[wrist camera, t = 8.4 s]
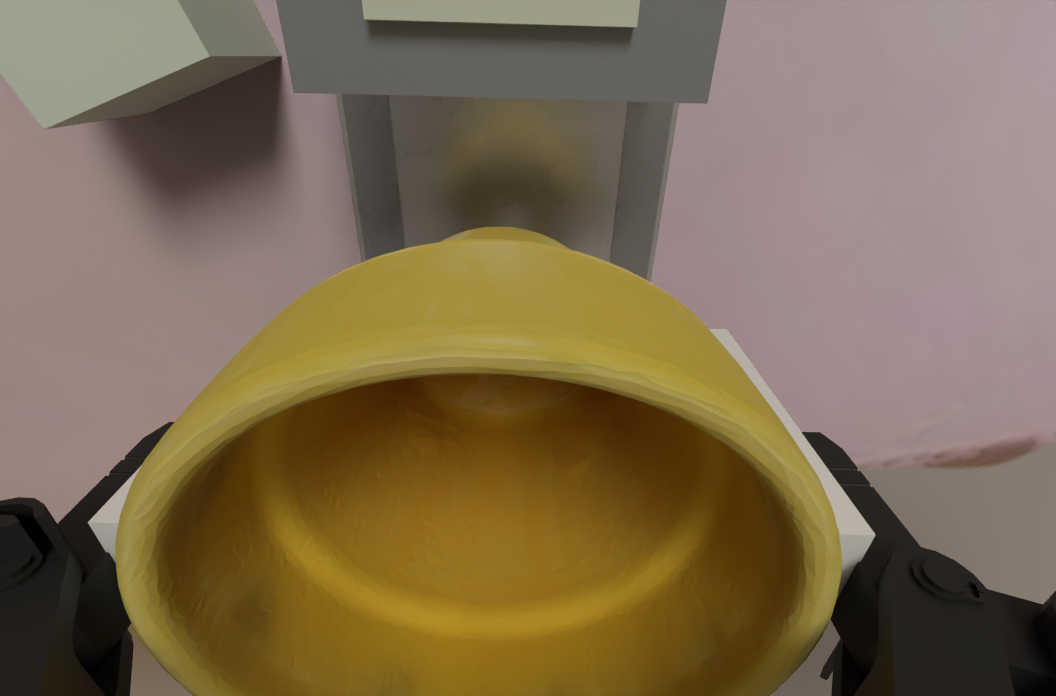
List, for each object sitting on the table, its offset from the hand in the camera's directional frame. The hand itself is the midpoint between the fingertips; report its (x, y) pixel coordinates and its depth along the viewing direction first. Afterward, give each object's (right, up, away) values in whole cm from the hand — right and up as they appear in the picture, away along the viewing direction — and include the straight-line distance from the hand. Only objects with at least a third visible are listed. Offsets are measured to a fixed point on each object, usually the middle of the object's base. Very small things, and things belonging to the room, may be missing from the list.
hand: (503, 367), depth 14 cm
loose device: (-12, +12, +4) cm, 18 cm away
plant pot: (0, +1, +2) cm, 2 cm away
